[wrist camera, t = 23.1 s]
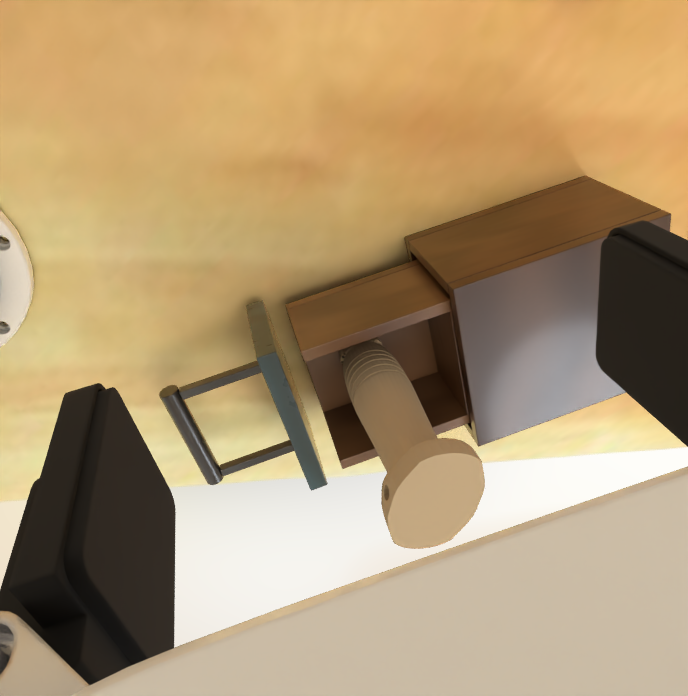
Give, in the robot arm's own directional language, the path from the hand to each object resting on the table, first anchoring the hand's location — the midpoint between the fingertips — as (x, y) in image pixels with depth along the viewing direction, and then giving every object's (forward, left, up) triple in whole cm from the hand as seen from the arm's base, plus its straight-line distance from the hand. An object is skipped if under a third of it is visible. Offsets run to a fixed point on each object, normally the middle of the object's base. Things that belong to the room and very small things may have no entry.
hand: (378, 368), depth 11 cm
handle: (+2, -17, -26) cm, 31 cm away
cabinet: (+15, -17, -27) cm, 35 cm away
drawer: (-1, -17, -26) cm, 31 cm away
